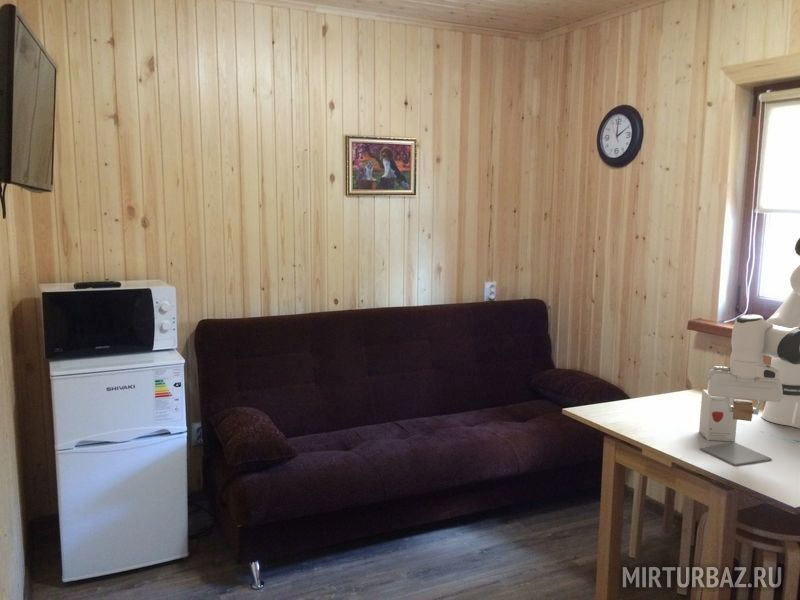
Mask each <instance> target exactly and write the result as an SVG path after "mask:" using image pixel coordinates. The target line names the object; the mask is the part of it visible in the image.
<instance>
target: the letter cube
mask: <svg viewBox="0 0 800 600" xmlns="http://www.w3.org/2000/svg"><path fill="white" fill-rule="evenodd" d="M753 405H754V404H753V400H747V399H734V406H733V419H737V421H738V420H739V421H745V422H752V419H753V413H752V412H753V407H754V406H753Z"/></svg>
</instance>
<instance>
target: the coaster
mask: <svg viewBox="0 0 800 600" xmlns="http://www.w3.org/2000/svg"><path fill="white" fill-rule="evenodd" d="M699 450H700V451H703V452H704V453H707V454H708V455H711V456H712V457H715V458H717V459H719V460H722V462H723V461H724V462H725V463H727V464H730V465H731V466H734V467H738V466H739V467H740V466H743V465H750V464H757V463H763V462H769V461H772V460H773V459H772V458H771V457H769V456H766V455H765V454H764V453H763V454H762V453H760V452H759V451H755V450H753V449H751V448H748V447H746V446H744V445H742V444H739V443H737V442H731V443H724V444H723V443H722V444H716V445H709V446H702V447H699Z"/></svg>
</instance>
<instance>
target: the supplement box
mask: <svg viewBox="0 0 800 600" xmlns="http://www.w3.org/2000/svg"><path fill="white" fill-rule="evenodd" d="M734 399H736V398H730V401H728V402H729V404H730V405H733V406H734ZM727 409H728V406H727V404H726V402H725V400H724V397H714V396H710V395H709V394H708V392H707V389H702V390H701V401H700V416H699V427H698V432H699V433H700V434H701V435H702V436H703V437H704V438H705V439H706V440H707V441H718V442H719V441H723V442H736V437H737V436H736V435H737V433H736V432H737V425H738V424H737V423H738V422H737V421H738V420H737V419H733V412H728V410H727Z"/></svg>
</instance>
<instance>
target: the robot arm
mask: <svg viewBox="0 0 800 600" xmlns="http://www.w3.org/2000/svg"><path fill="white" fill-rule="evenodd" d="M794 251H795V254H796V255H797V256H798V257H800V234H799V235H798V236H797V238H796V240H795V244H794ZM789 283H790V286H791V288H792V291H791V293H790V294H789V295H788V296H787V298H786V299H785V300H784V301H783V303H782V304H781V305H780V306H779V307H778V308H777V309H776V311H774V313H773V314H771V316H770V317H769V318H767V319H766V320H765V319H764V317H763V316H762V315H759V314H744V315H743V314H742V315H740V316H738V317H737V318H736V319H735V321H734V322H733V323H734V324H733V326H732V331H731V340H730V345H731V349H732V350H731V354H730V358H729V366H718V365H716V366H715V365H713V367H709V369H707V374H706V375H707V376H706V377H707V379H708V384H707V389H706V390H707V392H708V394H709V395H710V396H714V397H724V400H725V402H726V404H727V406H728V409H727V410H728V412H733V405H730V404H729V402H728V401H730V398H736V399H740V400H749V401H757V404H756V405H755V407H754V406H753V412H752V415H756V416H758V415H759V412H760V411H759V410H760V409H761V408H762V407H763V405H764V402H765V405H764V408H763V412H762V413H761V418H762V419H763V420H766V421H768V422H771V423H774V424H778V425H783V426H789V427H793V428H796V429H797V428H798V429H800V261H799V262H798V263H797V265H796V266H795V268H794V269H793V271H792V273H791V276H790V280H789ZM763 356H767V357H770V358H771V361H770V365H768V364H765V363H764V357H763Z"/></svg>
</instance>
